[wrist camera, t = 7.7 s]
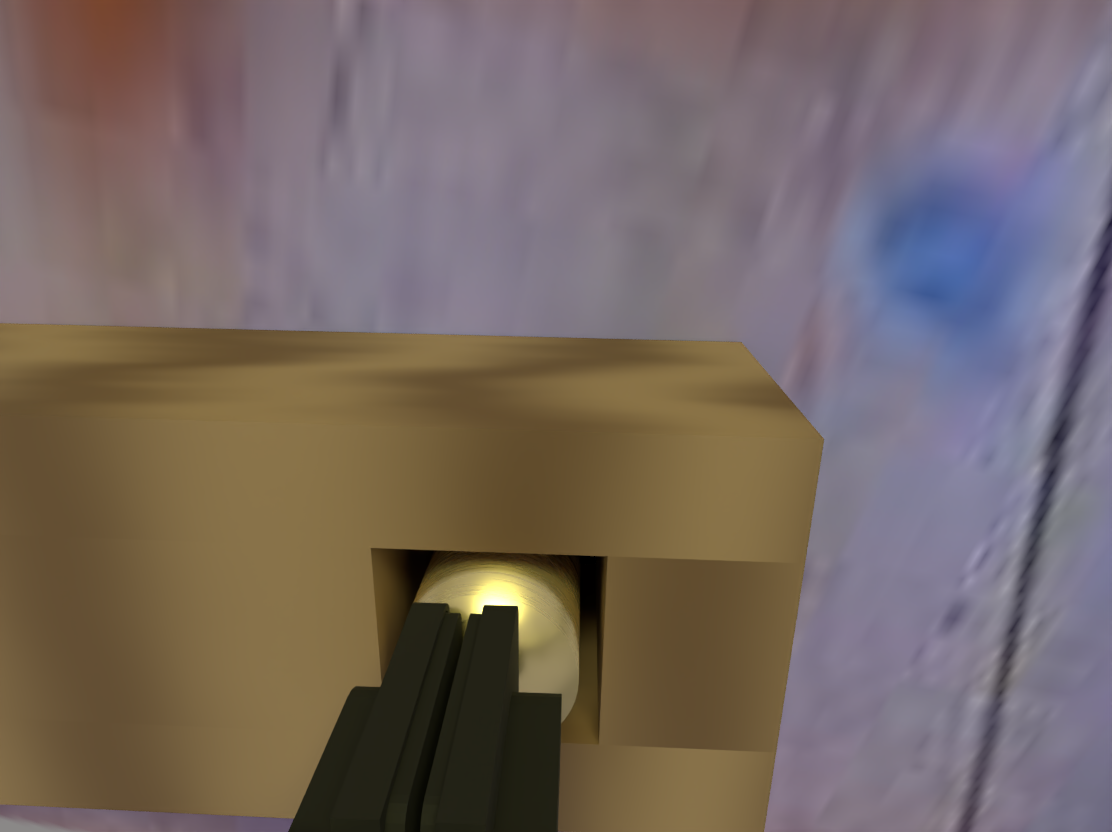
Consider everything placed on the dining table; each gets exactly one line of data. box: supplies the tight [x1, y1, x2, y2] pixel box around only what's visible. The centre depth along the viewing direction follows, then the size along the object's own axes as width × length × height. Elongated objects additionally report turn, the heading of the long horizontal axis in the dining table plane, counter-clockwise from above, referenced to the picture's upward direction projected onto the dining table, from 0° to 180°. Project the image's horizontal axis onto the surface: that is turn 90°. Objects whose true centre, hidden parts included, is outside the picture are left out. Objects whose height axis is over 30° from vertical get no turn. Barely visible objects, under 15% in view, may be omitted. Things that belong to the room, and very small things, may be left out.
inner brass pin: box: [413, 550, 581, 723], centre depth 14 cm, size 3×3×6 cm
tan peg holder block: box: [0, 323, 824, 832], centre depth 15 cm, size 24×8×6 cm, turn 89°
